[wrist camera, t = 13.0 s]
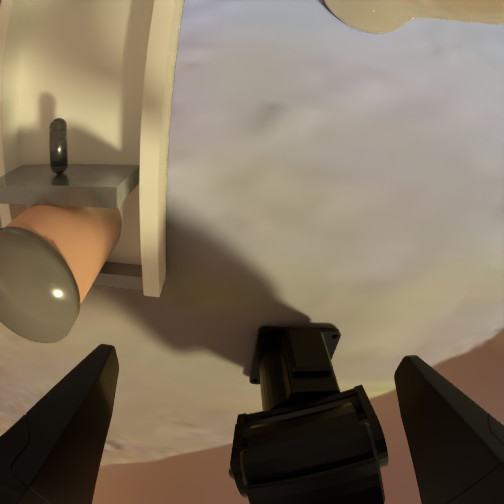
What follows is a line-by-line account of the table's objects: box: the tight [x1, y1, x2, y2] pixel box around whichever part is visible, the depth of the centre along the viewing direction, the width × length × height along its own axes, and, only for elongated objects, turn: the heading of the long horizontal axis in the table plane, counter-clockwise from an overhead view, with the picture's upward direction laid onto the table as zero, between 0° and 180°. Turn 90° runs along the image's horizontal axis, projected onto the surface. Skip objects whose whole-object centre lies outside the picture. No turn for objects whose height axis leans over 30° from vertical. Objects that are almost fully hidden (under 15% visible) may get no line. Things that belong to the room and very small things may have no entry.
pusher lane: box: [0, 0, 184, 297], centre depth 13 cm, size 20×11×6 cm, turn 173°
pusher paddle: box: [0, 118, 140, 208], centre depth 14 cm, size 4×8×4 cm, turn 83°
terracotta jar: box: [0, 205, 122, 343], centre depth 15 cm, size 6×6×8 cm
